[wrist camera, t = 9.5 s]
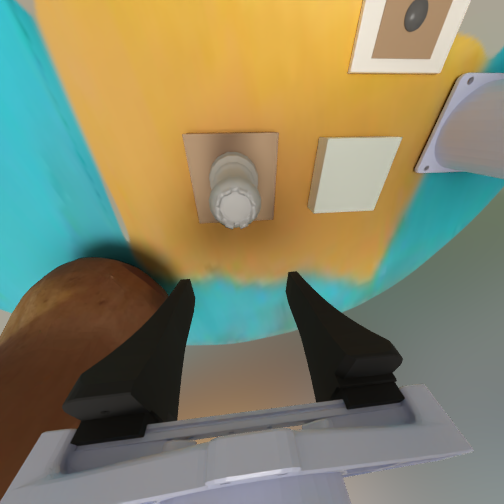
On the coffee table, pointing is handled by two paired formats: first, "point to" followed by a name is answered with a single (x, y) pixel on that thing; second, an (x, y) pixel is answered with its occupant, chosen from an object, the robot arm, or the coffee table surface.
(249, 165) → the rook chess piece
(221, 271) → the coffee table surface
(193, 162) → the walnut block
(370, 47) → the card
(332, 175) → the grey-green block
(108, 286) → the butternut squash
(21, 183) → the coffee table surface
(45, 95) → the coffee table surface
